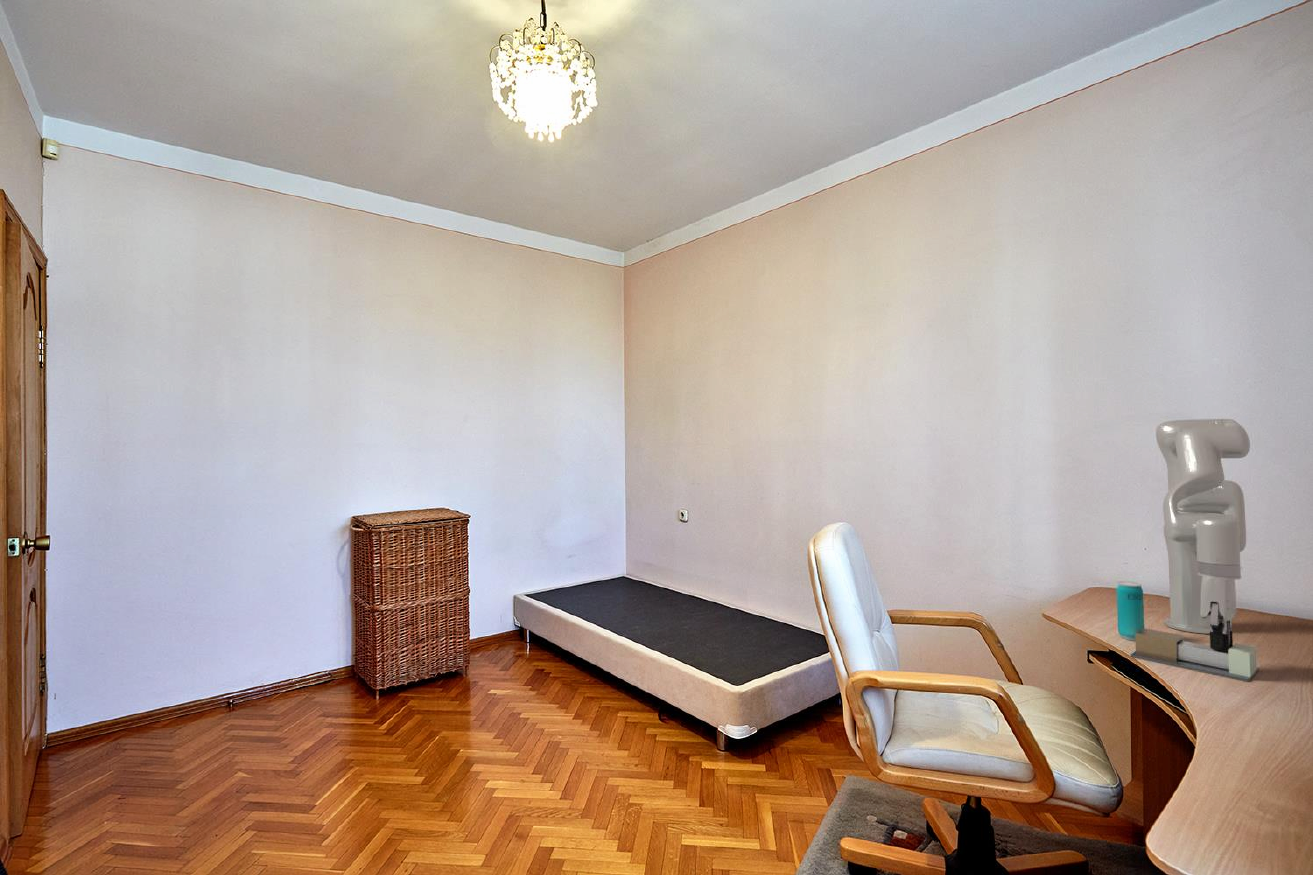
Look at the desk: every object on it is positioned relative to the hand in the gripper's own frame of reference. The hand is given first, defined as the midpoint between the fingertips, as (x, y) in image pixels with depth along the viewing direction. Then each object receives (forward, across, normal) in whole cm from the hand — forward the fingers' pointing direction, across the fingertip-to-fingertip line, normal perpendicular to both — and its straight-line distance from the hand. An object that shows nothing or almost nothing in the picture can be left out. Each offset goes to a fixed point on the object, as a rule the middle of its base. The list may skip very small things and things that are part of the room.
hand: (1221, 647), depth 143 cm
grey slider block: (+5, 0, -3) cm, 6 cm away
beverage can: (+5, -12, -21) cm, 25 cm away
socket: (+5, 0, +4) cm, 6 cm away
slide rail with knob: (+5, 0, -5) cm, 7 cm away
